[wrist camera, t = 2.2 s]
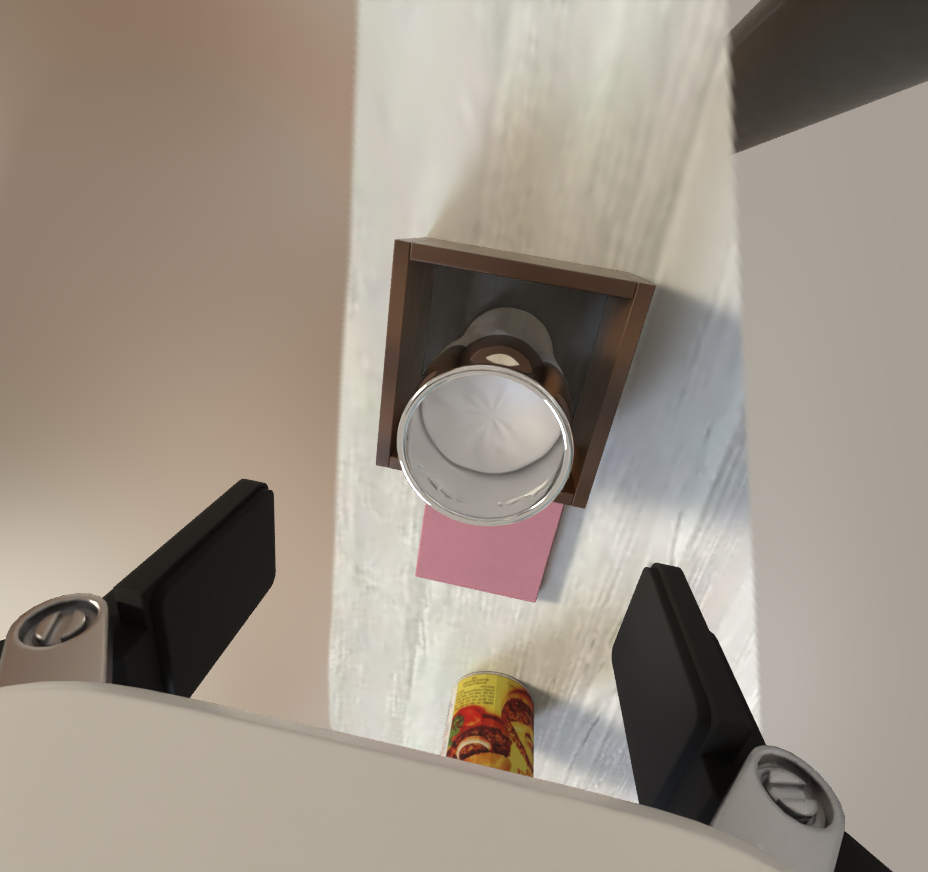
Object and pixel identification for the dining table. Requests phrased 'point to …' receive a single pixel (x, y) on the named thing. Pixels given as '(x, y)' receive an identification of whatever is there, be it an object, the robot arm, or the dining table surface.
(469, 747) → the canned food
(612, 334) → the brown wooden box
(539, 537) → the mat
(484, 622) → the dining table surface
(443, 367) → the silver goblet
